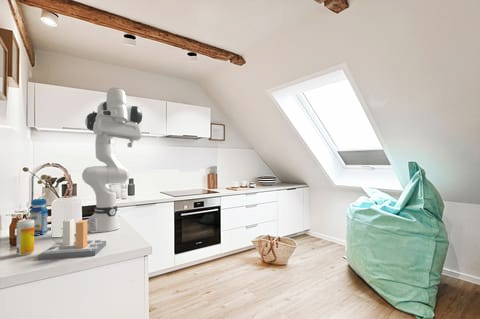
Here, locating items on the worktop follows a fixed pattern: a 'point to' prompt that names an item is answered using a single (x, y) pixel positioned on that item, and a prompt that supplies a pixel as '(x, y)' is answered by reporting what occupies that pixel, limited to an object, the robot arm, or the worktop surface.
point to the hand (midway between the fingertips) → (119, 145)
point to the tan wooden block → (81, 234)
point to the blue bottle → (39, 216)
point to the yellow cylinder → (25, 237)
